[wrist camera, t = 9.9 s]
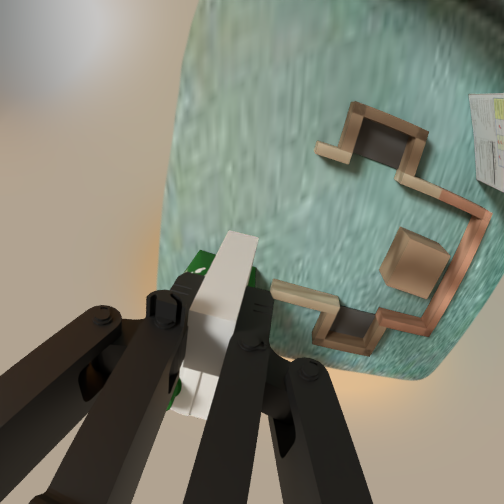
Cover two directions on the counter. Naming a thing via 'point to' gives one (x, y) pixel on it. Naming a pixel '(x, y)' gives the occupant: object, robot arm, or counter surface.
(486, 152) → the light bulb box
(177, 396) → the milk carton
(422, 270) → the block
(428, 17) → the counter surface
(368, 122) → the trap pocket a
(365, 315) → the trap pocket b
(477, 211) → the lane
